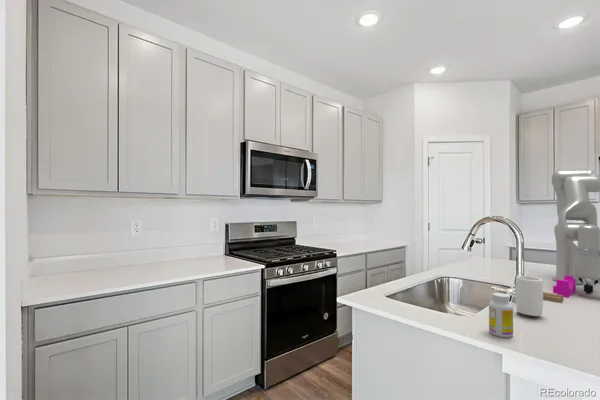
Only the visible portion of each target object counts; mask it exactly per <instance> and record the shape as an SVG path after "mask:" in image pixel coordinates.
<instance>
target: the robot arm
mask: <svg viewBox="0 0 600 400" xmlns="http://www.w3.org/2000/svg"><path fill="white" fill-rule="evenodd" d="M551 184H552V187H553V190H554V192H555V194H556V195H555V196H556V213H557V214H556V215H557V217H558V218H557V219H558V220H557V224H556V225H555V226H554V230H553V231H554V232H553V233H554V237H555V244H556V247H555V252H556V253H555V255H556V256H555V258H556V259H555V260H556V261H555V262H556V265H555V266H556V268H555V276H553V277H552V280H553V281H555V282H557V280H558V279H560V280H564V276H565V275H568V276H573V278H574V279H576V285H582V284H583V292H585V294H586V295H589V296H590V295H592V294H593V293H594V286H595V285H597V284H600V227H599V226H598V214H597V208H596V206H595V205H594V204H593V203H591V200H590V196H589V195H590V194H589V193H600V174H599V173H598V172H596V171H595V170H594V169H591V168H590V169H588V168H587V169H586V168H584V169H583V168H582V169H580V168H579V169H578V168H577V169H562V170H560V169H559V170H556V171H554V172H553V173H552V174H551ZM567 221H580V222H567ZM581 221H582V222H581ZM574 242H577V244H575V243H574ZM587 279H589V280H590V283H588V281H587Z"/></svg>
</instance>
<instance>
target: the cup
mask: <svg viewBox="0 0 600 400" xmlns="http://www.w3.org/2000/svg"><path fill="white" fill-rule="evenodd" d="M515 281H516V282H515V287H516V295H515V304H516V305H515V307H516V311H517V312H518V313H520V314H523V315H526V316H532V317H540V316H543V308H544V300H543V292H544V285H543V284H544V283H543V279H542V278H540V277H536V276H529V275H517V276H516V280H515Z"/></svg>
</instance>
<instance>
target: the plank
mask: <svg viewBox="0 0 600 400" xmlns="http://www.w3.org/2000/svg"><path fill="white" fill-rule="evenodd" d="M563 300H564V297H563V295H559V294H557V293H553V292H546V291H543V301H549V302H554V303H558V304H559V303H560V304H562V303H563Z"/></svg>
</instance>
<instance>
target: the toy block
mask: <svg viewBox="0 0 600 400" xmlns="http://www.w3.org/2000/svg"><path fill="white" fill-rule="evenodd" d="M576 290H577V284H576V279H574V278H573V276H568V275H565V276H564V280H560V279H558V280H557V281H556V283H555V285H552V293H553V294H559V295H563V298H565V297H566V299H567V298H569V297H571V296H572V295H573V294H575V293H576Z"/></svg>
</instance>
